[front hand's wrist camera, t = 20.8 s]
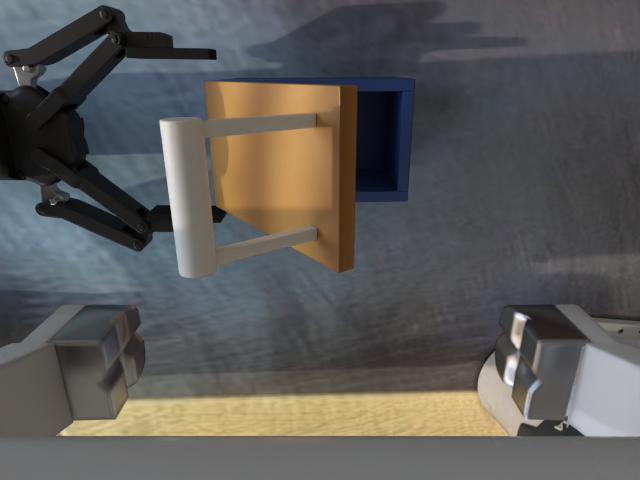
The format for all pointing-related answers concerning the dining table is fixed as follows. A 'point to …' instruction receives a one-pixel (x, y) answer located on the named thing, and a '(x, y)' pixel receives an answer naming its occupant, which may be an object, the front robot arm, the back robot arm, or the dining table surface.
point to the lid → (265, 172)
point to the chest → (376, 133)
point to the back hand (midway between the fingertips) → (218, 139)
